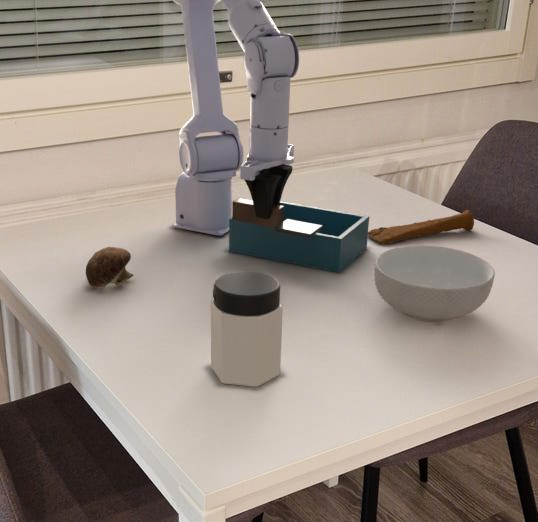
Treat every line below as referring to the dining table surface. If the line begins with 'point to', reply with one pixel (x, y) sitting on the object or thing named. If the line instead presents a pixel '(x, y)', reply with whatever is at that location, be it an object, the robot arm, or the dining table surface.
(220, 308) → the jar
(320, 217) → the bin
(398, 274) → the cereal bowl
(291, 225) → the scraper
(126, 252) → the mushroom
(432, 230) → the primitive tool
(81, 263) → the dining table surface
